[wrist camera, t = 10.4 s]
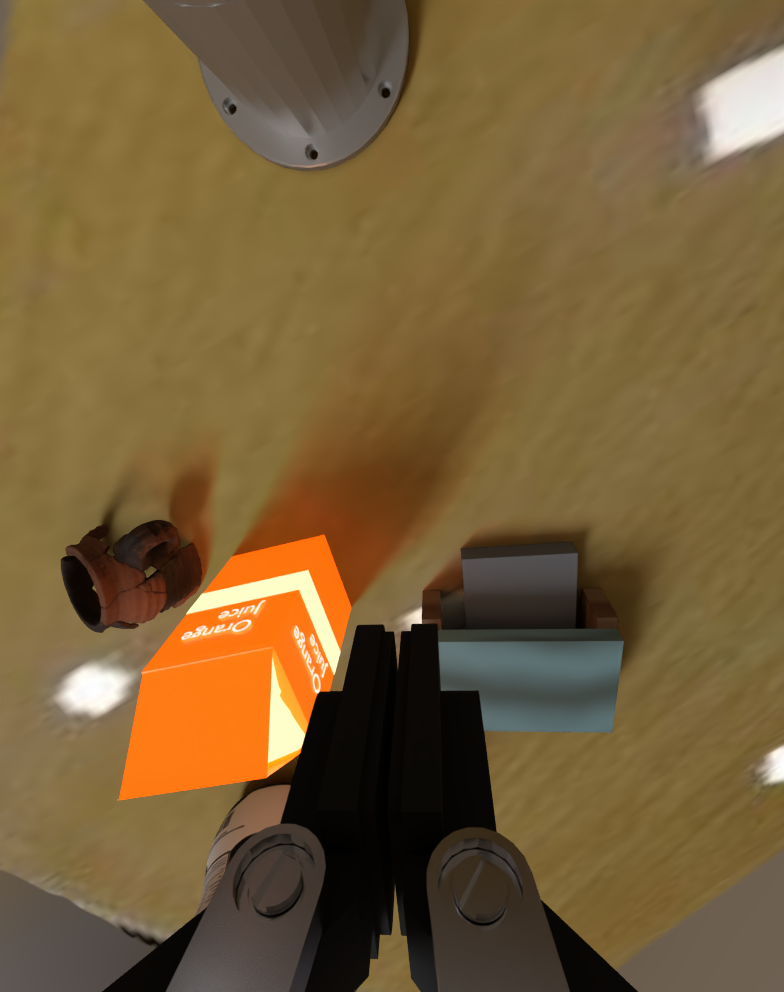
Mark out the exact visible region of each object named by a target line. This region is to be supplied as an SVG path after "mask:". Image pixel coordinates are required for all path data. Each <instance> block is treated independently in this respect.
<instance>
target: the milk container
mask: <svg viewBox="0 0 784 992" xmlns="http://www.w3.org/2000/svg"><path fill="white" fill-rule="evenodd" d="M290 787H291V783H280V784H274V785H269V786H265V787H262V788H258V789H256V790H254V791H252V792H251V793H249V794H248V795H246V796H244V797H243V798H242V799H241V800H240V801H238V802H237V803H236V804H235V805H234V807H233V808H232V809H231V811H230V812H229V813H228V815H227V817H226V818H225V820H224V821H223V823H222V825H221V827H220V829H219V831H218V832H217V834H216V837H215V839H214V841H213V844H212V847H211V850H210V853H209V857H208V862H207V867H206V874H205V881H204V888H203V893H202V897H201V900H200V903H199V906H198V909H197V912H196V914H195V916H196V915H198V914H199V913H200V912H201V911H203V910H204V909H205V908H206V907H208V905H209V903H210V901H211V898H212V896H213V894H214V892H215V890H216V888H217V886H218V884H219V882H220V880H221V878H222V876H223V874H224V872H225V870H226V868H227V866H228V864H229V863H230V861H231V859H232V858H233V856H234V855H235V853H236V852H237V850H238V849H239V848H240V847H241V846H242V845H243V844H244V843H245V842H246V841H247V840H248V839H249V838H250V837H251V836H253V835H255V834H256V833H258V832H260V831H261V830H263V829H265V828H267V827H271V826H274V825H278V824H280V822H281V818H282V815H283V811H284V808H285V804H286V801H287V797H288V794H289V790H290ZM355 992H356V991H355Z"/></svg>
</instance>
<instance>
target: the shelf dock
mask: <svg viewBox="0 0 784 992" xmlns="http://www.w3.org/2000/svg"><path fill="white" fill-rule="evenodd" d="M422 624H438V642H439V662H440V682H441V691H475V690H478V691H479V696H480V703H481V711H482V719H483V727H484V731H533V732H612V729H613V721H614V714H615V706H616V698H617V691H618V683H619V675H620V667H621V660H622V652H623V644H624V640H623V639H622V637H621V635H620V633H619V631H618V630H617V624H618V617H617V615H616V613H615V611H614V610H613V608H612V606H611V605H610V603H609V601H608V600H607V598H606V596H605V594H604V593H603V591H602V589H601V588H582V598H581V610H580V621H579V629H495V630H441V603H440V590H434V591H423V600H422Z"/></svg>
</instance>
